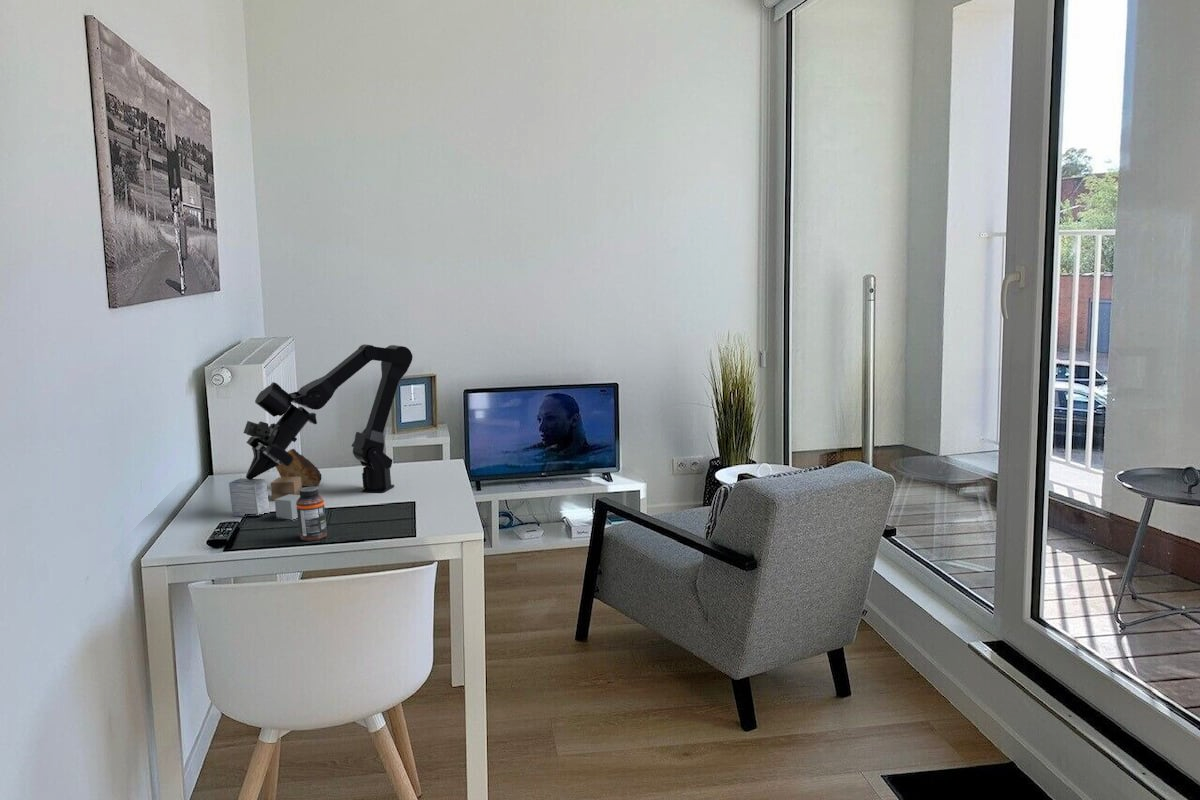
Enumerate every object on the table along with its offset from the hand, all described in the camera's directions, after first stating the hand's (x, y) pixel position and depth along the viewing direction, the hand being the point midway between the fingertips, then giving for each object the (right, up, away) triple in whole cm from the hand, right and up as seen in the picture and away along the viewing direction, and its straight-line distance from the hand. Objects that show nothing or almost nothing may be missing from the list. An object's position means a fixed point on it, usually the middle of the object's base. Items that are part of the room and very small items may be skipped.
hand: (247, 478), depth 240 cm
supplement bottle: (+22, -12, -21) cm, 33 cm away
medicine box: (0, -9, +1) cm, 9 cm away
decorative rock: (+4, -5, +29) cm, 30 cm away
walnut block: (+4, -6, +17) cm, 18 cm away
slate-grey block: (+12, -9, -3) cm, 15 cm away
